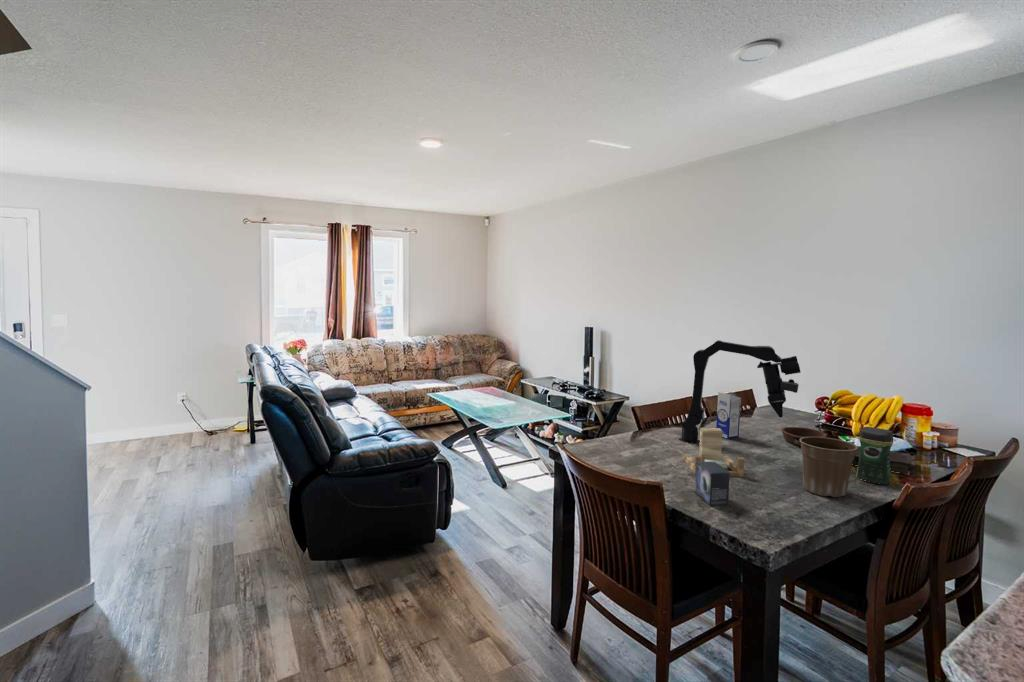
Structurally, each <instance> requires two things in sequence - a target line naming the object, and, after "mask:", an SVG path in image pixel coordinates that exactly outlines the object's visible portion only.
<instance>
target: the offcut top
mask: <svg viewBox="0 0 1024 682" xmlns="http://www.w3.org/2000/svg"><path fill="white" fill-rule="evenodd" d="M712 461H715V462H716V463H717V464H719V465H720V466H721V467H723V468H728V465H727V463H726V462H725V461H724V460H722V459H721V460H705V459H704V462H712Z"/></svg>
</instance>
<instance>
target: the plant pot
mask: <svg viewBox="0 0 1024 682" xmlns="http://www.w3.org/2000/svg"><path fill="white" fill-rule="evenodd" d="M800 442H801V446H800V449H801V450H800V452H801V453H802V480H803V481H802V482H803V483H802V484H803V485H802V486H803V488H804V490H806V491H807V492H809V493H811V494H813V493H814V495H816V494H817V495H818V496H822V497H828V496H829V497H832V498H842V497H841V496H843V497H845V496H846V495H847V491H848V488H849V487H848V486H849V481H850V476H851V471H852V467H853V466H852V461H853V460H854V456H855V451H856V450H857V449H858V447H857V446H858V445H856V444H854V443H851V442H849V441H846V440H841V439H838V438H832V437H803V438H800ZM817 495H816V496H817Z"/></svg>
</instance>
